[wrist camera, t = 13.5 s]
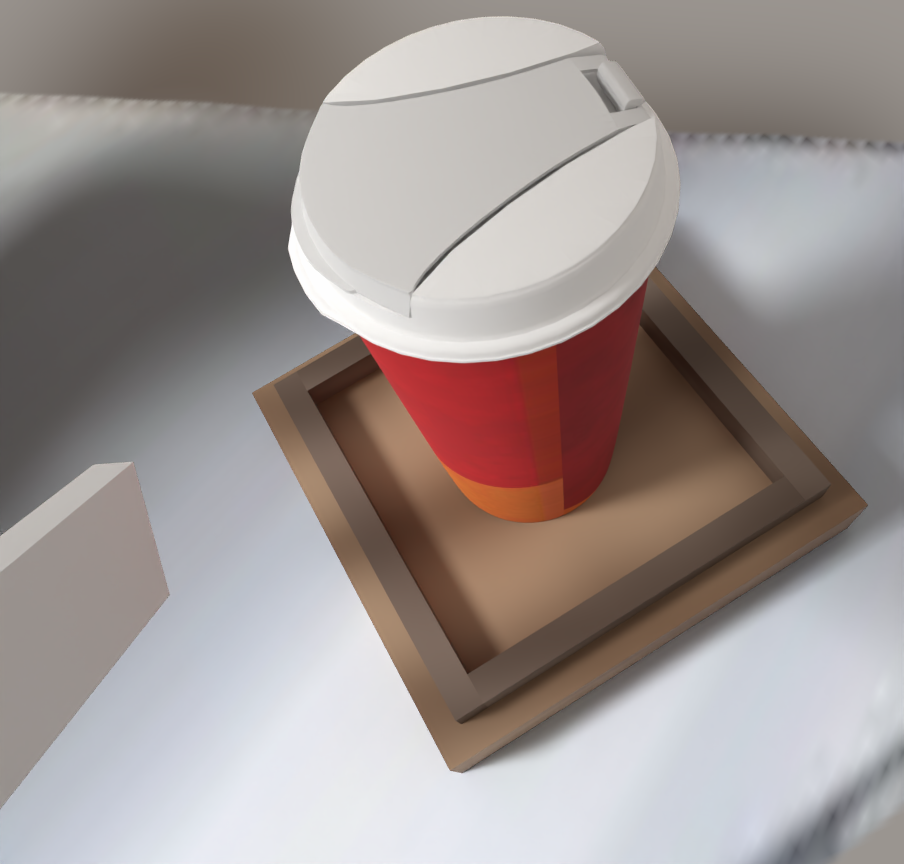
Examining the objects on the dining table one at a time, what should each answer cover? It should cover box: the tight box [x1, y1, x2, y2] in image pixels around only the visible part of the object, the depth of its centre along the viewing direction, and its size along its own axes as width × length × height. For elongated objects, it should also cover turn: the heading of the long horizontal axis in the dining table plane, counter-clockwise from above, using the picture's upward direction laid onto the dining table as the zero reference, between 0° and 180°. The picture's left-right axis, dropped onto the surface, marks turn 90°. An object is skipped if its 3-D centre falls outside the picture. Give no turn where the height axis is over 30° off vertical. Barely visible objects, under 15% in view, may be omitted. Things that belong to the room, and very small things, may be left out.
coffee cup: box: [288, 16, 680, 523], centre depth 23 cm, size 8×8×15 cm
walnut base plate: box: [252, 267, 868, 773], centre depth 30 cm, size 16×16×4 cm
